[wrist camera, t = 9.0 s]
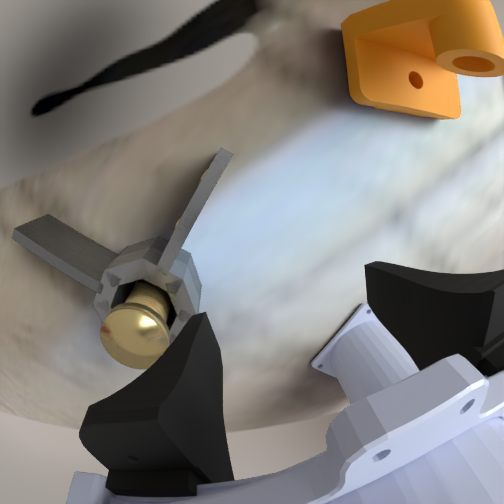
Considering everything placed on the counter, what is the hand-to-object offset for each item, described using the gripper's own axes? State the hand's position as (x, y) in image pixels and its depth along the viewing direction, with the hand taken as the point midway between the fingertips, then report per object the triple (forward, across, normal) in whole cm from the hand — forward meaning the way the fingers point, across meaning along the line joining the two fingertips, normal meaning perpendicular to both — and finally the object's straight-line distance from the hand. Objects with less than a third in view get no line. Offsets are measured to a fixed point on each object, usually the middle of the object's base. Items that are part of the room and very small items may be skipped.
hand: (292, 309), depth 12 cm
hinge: (+10, +8, -5) cm, 14 cm away
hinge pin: (+10, +8, +1) cm, 13 cm away
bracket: (+11, -15, -11) cm, 22 cm away
